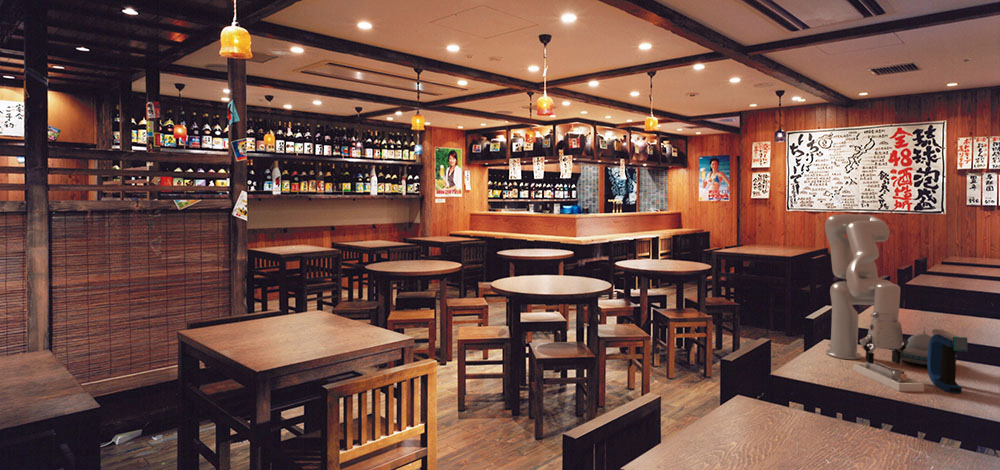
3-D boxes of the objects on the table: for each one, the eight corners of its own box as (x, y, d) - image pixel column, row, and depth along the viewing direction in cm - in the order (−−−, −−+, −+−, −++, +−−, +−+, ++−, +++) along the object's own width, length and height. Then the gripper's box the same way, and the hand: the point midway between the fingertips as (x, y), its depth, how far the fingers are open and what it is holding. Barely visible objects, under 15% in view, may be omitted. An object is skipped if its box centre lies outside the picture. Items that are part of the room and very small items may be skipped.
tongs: (909, 386, 187) (910, 373, 186) (899, 386, 187) (899, 373, 186) (874, 371, 204) (875, 359, 204) (865, 371, 204) (865, 359, 204)
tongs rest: (853, 370, 207) (853, 363, 207) (875, 370, 207) (875, 363, 207) (898, 391, 183) (899, 383, 183) (923, 391, 183) (924, 383, 183)
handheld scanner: (950, 394, 180) (954, 337, 179) (924, 379, 196) (928, 326, 195) (966, 396, 179) (970, 338, 178) (939, 381, 195) (943, 327, 193)
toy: (970, 371, 206) (972, 333, 205) (916, 371, 206) (917, 332, 205) (928, 356, 226) (930, 321, 226) (879, 356, 227) (881, 321, 226)
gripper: (869, 319, 192) (866, 366, 194) (917, 319, 192) (913, 365, 194) (855, 314, 200) (852, 359, 201) (901, 314, 200) (898, 359, 201)
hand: (882, 362), depth 197 cm, fingers open, 9 cm apart
